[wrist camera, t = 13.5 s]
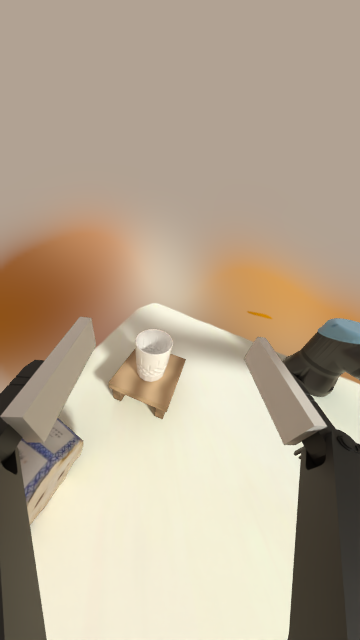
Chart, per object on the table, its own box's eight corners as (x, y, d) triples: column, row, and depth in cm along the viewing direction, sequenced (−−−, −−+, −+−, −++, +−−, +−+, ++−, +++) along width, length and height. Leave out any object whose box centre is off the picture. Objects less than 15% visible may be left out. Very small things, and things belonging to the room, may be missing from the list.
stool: (181, 374, 48) (185, 359, 44) (163, 422, 37) (167, 407, 33) (139, 358, 50) (140, 342, 46) (110, 399, 39) (108, 382, 35)
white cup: (127, 372, 38) (126, 342, 32) (148, 352, 44) (151, 324, 38) (154, 391, 35) (158, 361, 30) (172, 367, 41) (179, 339, 36)
